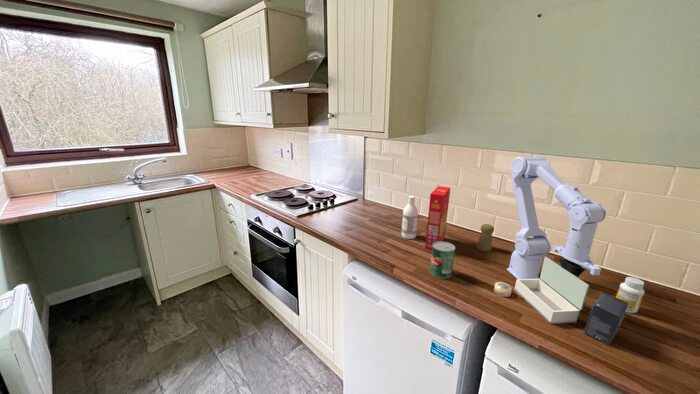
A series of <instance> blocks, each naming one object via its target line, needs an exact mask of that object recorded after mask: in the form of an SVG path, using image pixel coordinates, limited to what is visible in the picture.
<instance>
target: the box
mask: <svg viewBox="0 0 700 394" xmlns="http://www.w3.org/2000/svg"><path fill="white" fill-rule="evenodd" d="M627 306H628V302H626V301H623V300H621V299H618V298H616V296H612V295H610V294H608V293H605V292H603V293H602V294H601V296H600V297H599V298H598V299H596V301H595V303H594V304H593V305H592V307H591V310H590V314H589V317H588V320H587V322H586V326H585V328H584V331H583V334H585V335H587V336H589V337H591V338H593V339H595V340H598V341H599V342H600V343H603V344H605V345H607V346H610V344H611V343H612V341H613V339H614V338H615V336H616V334H617V333H618V332H619V329H620V327H621V324H622V321H623V319H624V317H625V313H626V309H627Z"/></svg>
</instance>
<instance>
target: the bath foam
mask: <svg viewBox="0 0 700 394" xmlns="http://www.w3.org/2000/svg"><path fill="white" fill-rule="evenodd" d="M407 200H408V202H407V205H405V207H404V209H403V211H402V221H401V222H402V224H401V237H402V238H404V239H407V240H413V239H415V238H416V237H417V232H418V221H419V219H418V218H419V210H418V208H417V206H416V204H415V203H416V196H415V195H409V196H408V199H407Z"/></svg>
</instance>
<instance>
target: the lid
mask: <svg viewBox="0 0 700 394" xmlns="http://www.w3.org/2000/svg"><path fill="white" fill-rule="evenodd" d="M543 258H544V259H543V261H542V267H541V271H540V277H539V278H540V279H541V280H543V281H544V283H545V284H546V285H548V286H549V287H550V288H552V289H553V290H554V291H555V292H557V293H558V294H559V295H560V296H562V297H563V298H564V299H566V300H567V301H568V302H569V303H571V304H572V305H573V306H574V307H576V308H577V309H578V310H579V311H583V308H584V306H585V303H586V299H587V295H588V292H589V288H590V285H589V284H588V283H586V282H585V281H583V280H582V279H580V278H579V277H578V278H577V277H576V276H574V275H573V274H571V273H570V272H568V271H567V270H565V269H564V268H562V267H561V265H560V264H558V263H556V262H555V261H553V260H552V259H550V258H549V257H547V256H545V257H543Z"/></svg>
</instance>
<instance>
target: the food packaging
mask: <svg viewBox="0 0 700 394" xmlns="http://www.w3.org/2000/svg"><path fill="white" fill-rule="evenodd" d="M450 194H451V187H447V186H440V185H438V186H437V187H436V188H435V189H434V190H433V191H432V192H431V193H430V196H429V205H428V216H427V225H426V235H425V243H424V244H425V246H424V249H426V250H431V251H432V248H433V243H435V242H438V241H443V242H444V240H445V237H446V229H447V228H446V227H447V220H448V211H449V202H450Z"/></svg>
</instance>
